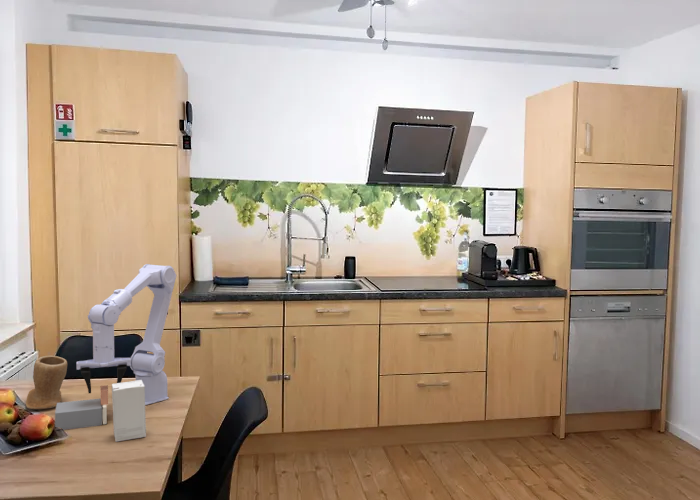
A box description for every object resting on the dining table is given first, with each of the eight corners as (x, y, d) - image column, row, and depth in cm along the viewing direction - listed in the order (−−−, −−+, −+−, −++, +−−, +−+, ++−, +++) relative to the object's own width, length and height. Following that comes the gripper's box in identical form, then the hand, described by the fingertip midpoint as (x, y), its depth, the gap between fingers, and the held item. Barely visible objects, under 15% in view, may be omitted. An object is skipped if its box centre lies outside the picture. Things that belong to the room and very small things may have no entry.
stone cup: (67, 409, 183) (66, 361, 182) (23, 414, 178) (21, 365, 177) (69, 394, 197) (68, 349, 196) (28, 397, 192) (27, 352, 191)
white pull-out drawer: (59, 429, 167) (58, 397, 166) (61, 417, 175) (60, 387, 175) (108, 423, 172) (108, 392, 171) (107, 412, 180) (107, 382, 180)
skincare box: (143, 430, 169) (143, 378, 167) (146, 438, 163) (146, 385, 162) (111, 434, 165) (111, 382, 164) (113, 442, 159) (113, 388, 158)
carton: (55, 430, 167) (55, 413, 166) (57, 419, 175) (56, 402, 174) (101, 425, 171) (101, 408, 171) (101, 414, 179) (101, 398, 179)
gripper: (75, 350, 167) (76, 397, 168) (130, 347, 173) (131, 392, 174) (76, 344, 174) (77, 390, 175) (129, 341, 179) (129, 385, 180)
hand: (104, 391), depth 175 cm, fingers open, 7 cm apart
